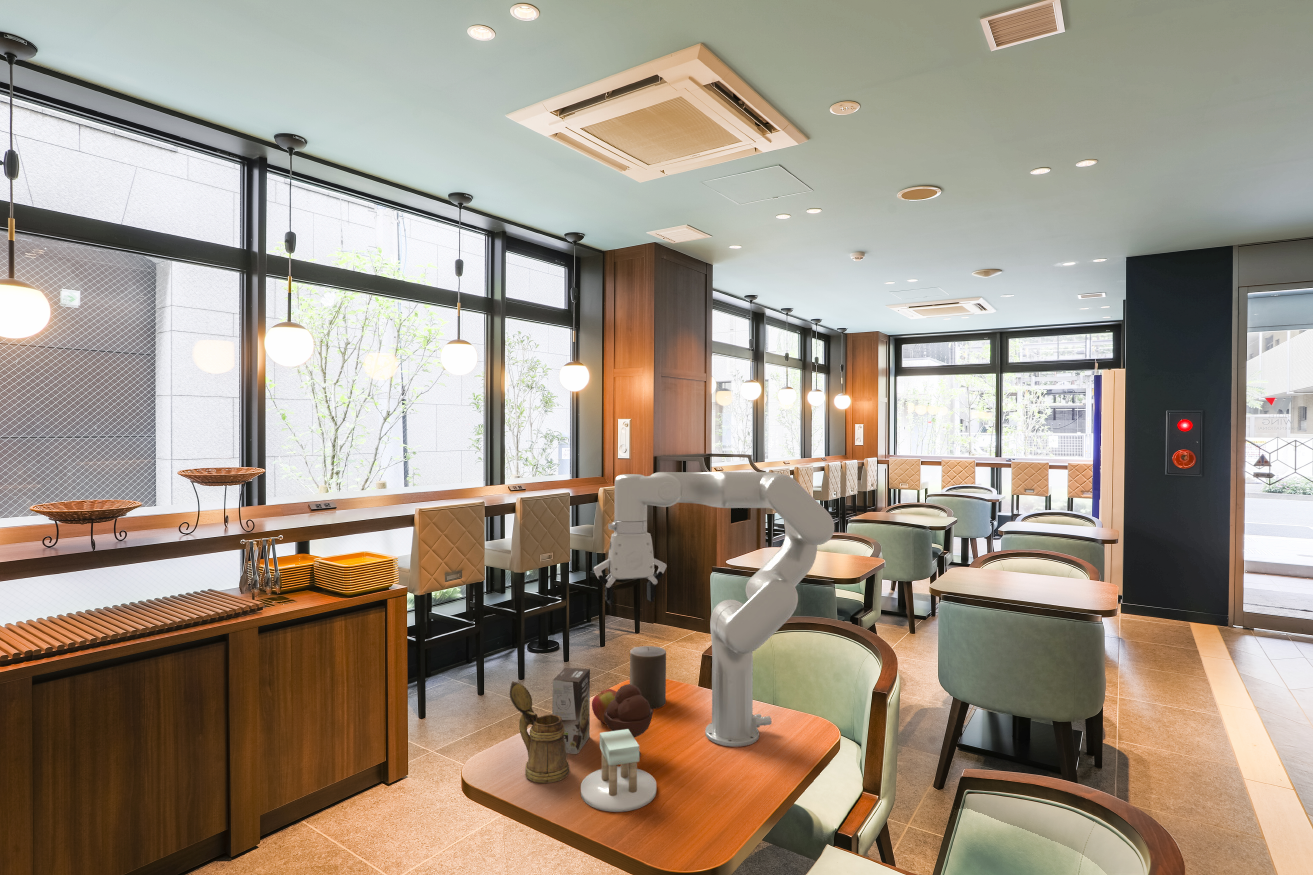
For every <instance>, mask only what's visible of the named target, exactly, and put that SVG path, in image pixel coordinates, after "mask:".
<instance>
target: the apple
mask: <svg viewBox="0 0 1313 875" xmlns="http://www.w3.org/2000/svg"><path fill="white" fill-rule="evenodd" d="M599 692H600V693H597V694H596V695H595V696H593V698H592V701H591V709H592V712H593V715H594V716H595V718H596V719H597V720H598V721H599V722H600V723H603V724H606V722H605V719H604V712H605V710H606V708H608V705H609V704H610V702H611V701H612V700H614V699H615V695H616V692H617V691H616V690H615V689H612V688H611V689H610V688H608V689H604V690H602V691H599Z"/></svg>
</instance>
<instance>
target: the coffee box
mask: <svg viewBox="0 0 1313 875" xmlns="http://www.w3.org/2000/svg"><path fill="white" fill-rule="evenodd" d="M590 684H591V669H590V668H582V667H581V668H579V667H565V668H563V669H562V670H561V671H560V673H558V674H557V675H556V677H554V678H553V679H552V702H551V703H552V712H551V714H553V715H558V716H560V717H561V718H562V723H563V725H564V729H565V733H564V740H565V748H566V754H571V755H572V754H573V755H578V754H579V753H580V751H581V750H582V749H583V747H584V746H585V744H586V743H587V741H588V740H589V739H590V738H591V737H590V735H591V733H590V732H591V731H590V728H591V725H590V724H591V723H590V722H591V721H590V720H591V719H590V714H591V712H590V709H591V708H590V707H591V703H590V702H591V701H590V700H591V698H590V697H591V694H590V692H591V689H590V687H591V686H590Z"/></svg>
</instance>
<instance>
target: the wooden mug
mask: <svg viewBox="0 0 1313 875" xmlns="http://www.w3.org/2000/svg"><path fill="white" fill-rule="evenodd" d="M509 686H510V688H509V698H510V699H509V700H510V701H511V703H512V705H513V707H514V708H515V709H516V710H517V711H518V712H520V713H521V716H520V718H519V724H518V728H519V733H520V736H521V740H522V741H523V743H524V745H525V747H526V750H527V756H528V758H527V762H526V763H525V768H524V769H525V770H524V772H525V774H524V775H525V777H526V779H528V780H529V781H532V782H533V783H537V784H550V783H551V784H552V783H556V782H560V781H562V780H563V779H565V778H566V777H567V776H569V774H570V767H569V766H570V764H569V762H568V756H567V753H566V748H565V740H564V733H565V729H564V725H563V723H562V718H561V717H560V716H558V715H553V714H552V713H551V714H550V713H549V714H545V715H541V716H538V714H537V713H536V712H534V709H533V708H532V707H533V698H532V695H531V693H530V691H529V690H528V689H527V687H526V686H524V685H523V684H522V683H520V682H517V681H514V680H513V681H511V683H510V685H509ZM530 725H532V726H530ZM528 726H530V729H529V732H528Z"/></svg>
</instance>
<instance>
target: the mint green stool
mask: <svg viewBox="0 0 1313 875" xmlns="http://www.w3.org/2000/svg"><path fill="white" fill-rule="evenodd" d="M599 749H600V751H601V769H602V780H603V781H608V780H609V795H610V796H615V795H617V767H618V765H620V767H621V777H622V778H627V777H628V776H629V792H631V793H634V792H636V791H637V769H638V763H639V762H640V758H639V751H640V744H639V743H638V742H637V740H636V739H635V738H634V737H633V736H632V734H631V733H630V731H629V729H625V730H617V731H612V730H610V731H603V732H599Z"/></svg>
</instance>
